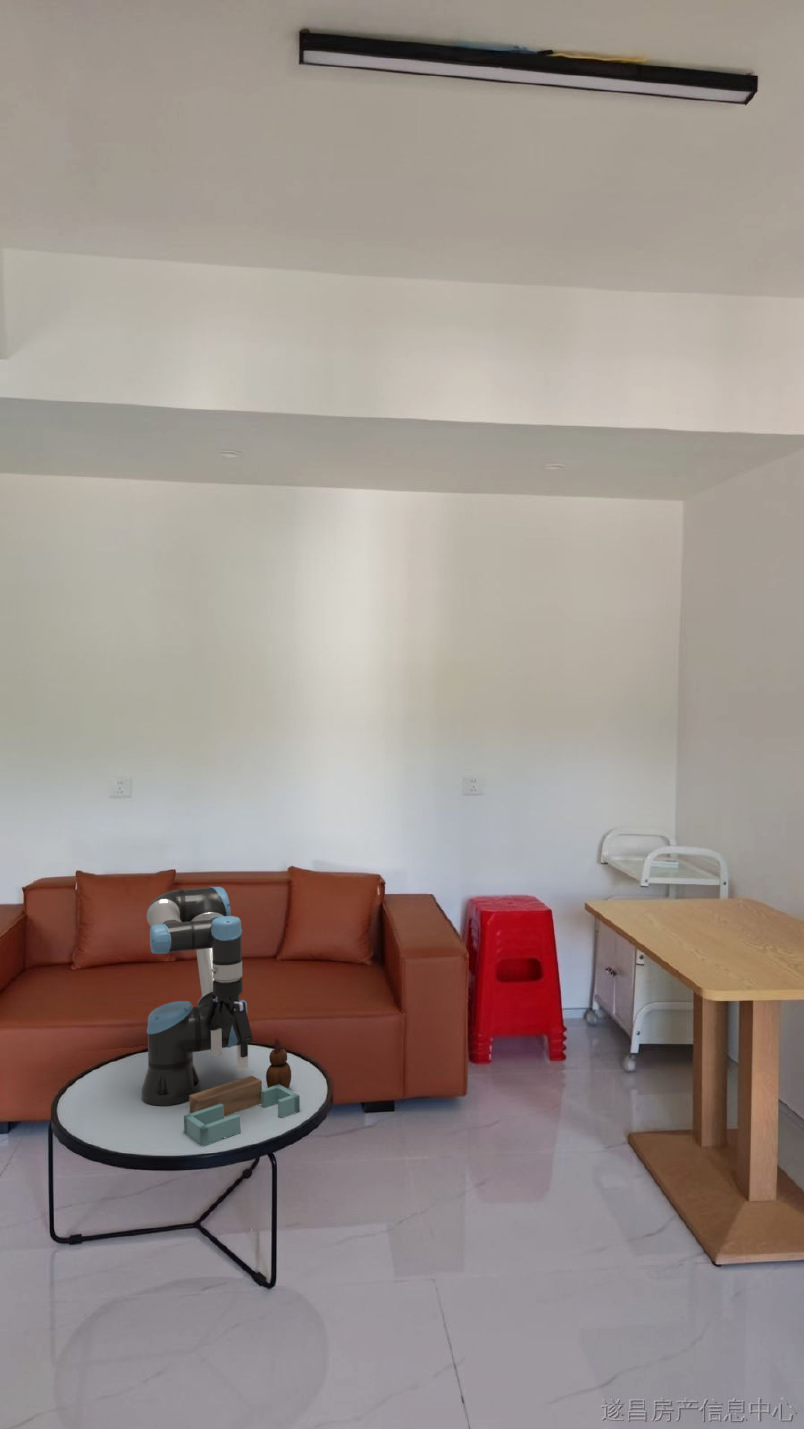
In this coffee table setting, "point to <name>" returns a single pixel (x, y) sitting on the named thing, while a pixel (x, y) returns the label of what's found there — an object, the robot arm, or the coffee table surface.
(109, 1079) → the coffee table surface
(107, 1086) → the coffee table surface
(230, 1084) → the slat
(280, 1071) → the wooden figurine
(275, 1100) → the endcaps
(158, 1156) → the coffee table surface
